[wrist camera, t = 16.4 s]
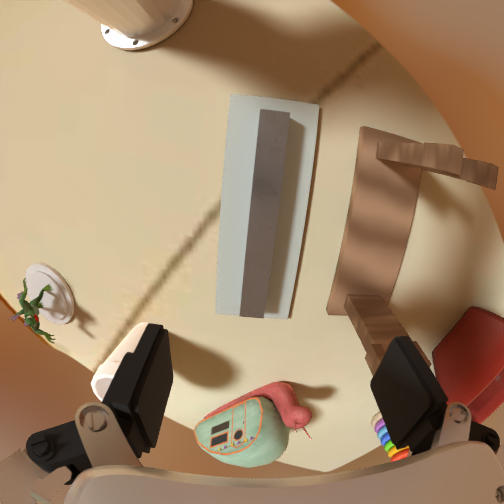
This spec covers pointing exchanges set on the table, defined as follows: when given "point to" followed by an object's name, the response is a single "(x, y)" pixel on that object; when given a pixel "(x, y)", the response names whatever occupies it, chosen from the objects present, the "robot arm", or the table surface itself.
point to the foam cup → (115, 361)
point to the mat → (239, 196)
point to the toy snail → (253, 426)
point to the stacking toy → (387, 439)
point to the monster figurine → (45, 298)
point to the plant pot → (473, 363)
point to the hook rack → (387, 229)
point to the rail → (263, 210)
